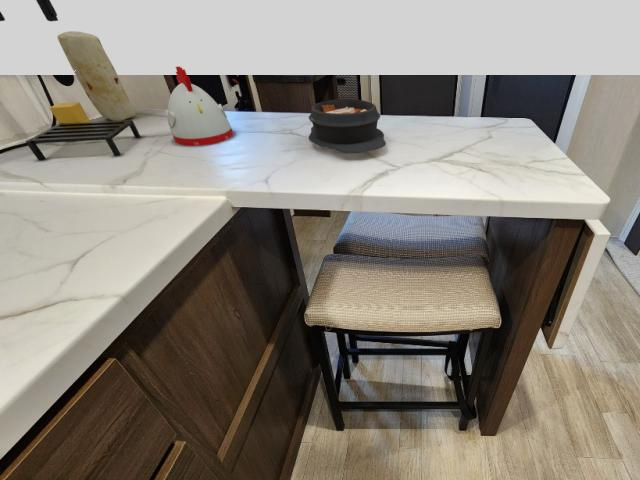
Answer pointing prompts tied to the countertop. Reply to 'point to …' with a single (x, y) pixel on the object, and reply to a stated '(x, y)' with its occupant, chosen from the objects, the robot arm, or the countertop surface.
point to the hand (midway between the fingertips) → (26, 21)
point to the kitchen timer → (195, 115)
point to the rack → (82, 134)
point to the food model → (96, 74)
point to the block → (69, 113)
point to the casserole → (346, 126)
